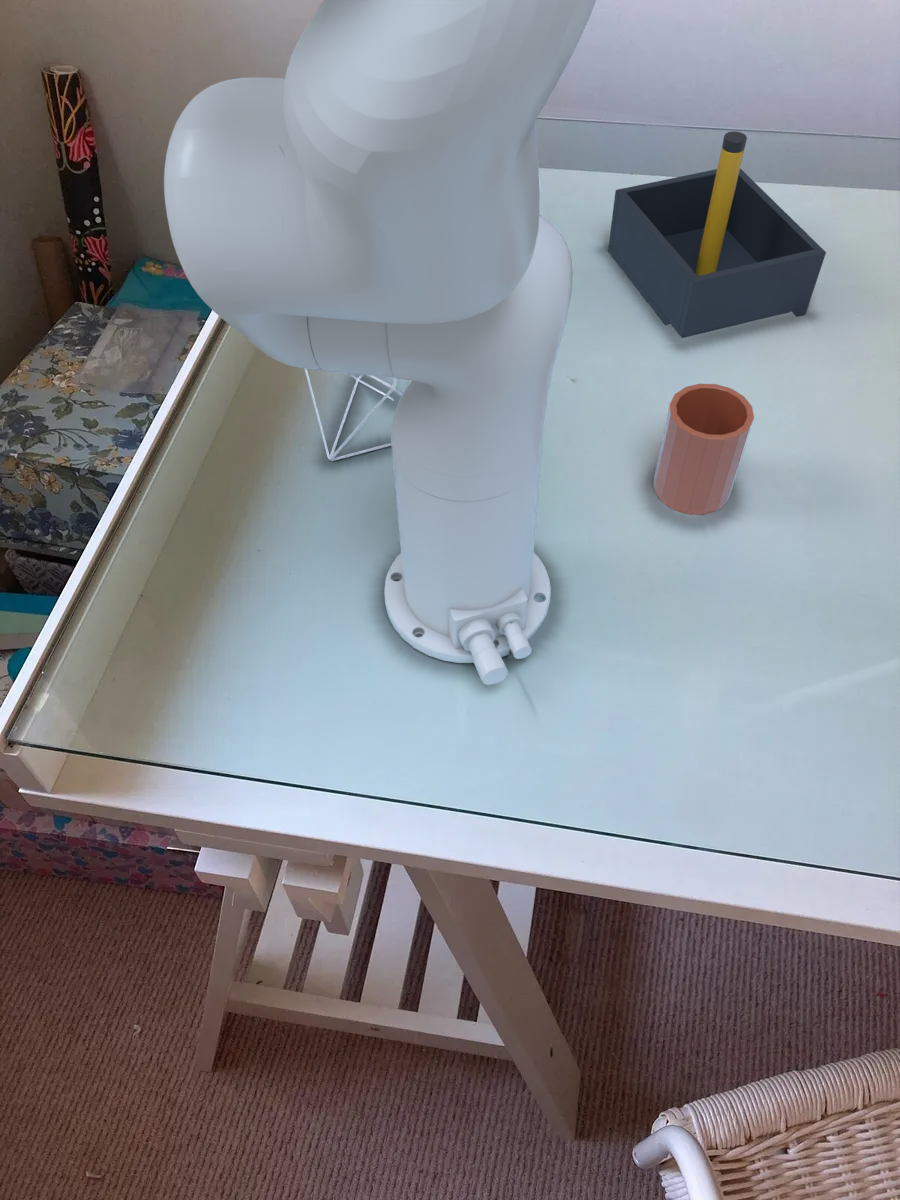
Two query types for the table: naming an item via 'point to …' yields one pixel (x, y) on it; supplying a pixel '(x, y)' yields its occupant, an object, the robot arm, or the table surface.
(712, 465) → the pencil cup
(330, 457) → the geometric polyhedron
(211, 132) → the robot arm
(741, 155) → the pencil
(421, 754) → the table surface
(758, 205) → the bin
